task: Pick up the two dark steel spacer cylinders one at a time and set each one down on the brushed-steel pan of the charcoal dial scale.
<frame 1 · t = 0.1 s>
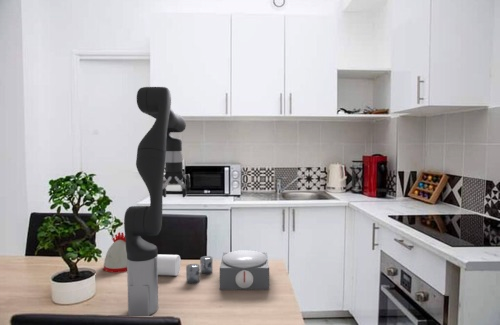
hand: (174, 197, 147), 29 cm above the table, tool pointing down, fingers open, 8 cm apart
scale: (244, 280, 127), on the table
spacer 2: (206, 272, 135), on the table
kitchen timer: (121, 266, 142), on the table
spacer 1: (193, 281, 126), on the table
mug: (167, 273, 135), on the table
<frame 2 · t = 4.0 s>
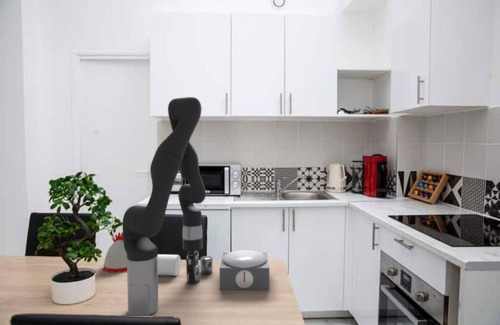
hand: (193, 279, 126), 1 cm above the table, tool pointing down, fingers closed on spacer 1, 5 cm apart
spacer 1: (193, 281, 126), on the table, touching gripper
everything else where it was.
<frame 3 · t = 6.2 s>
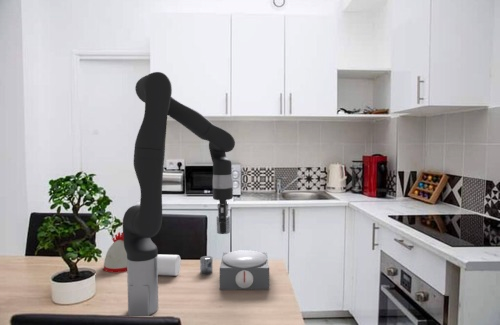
hand: (223, 230, 124), 20 cm above the table, tool pointing down, fingers closed on spacer 1, 5 cm apart
spacer 1: (223, 232, 124), point 19 cm above the table, touching gripper
everything else where it was.
when the fingers open (11 cm above the table, at t = 8.5 s): spacer 1 drops 1 cm, resting on scale.
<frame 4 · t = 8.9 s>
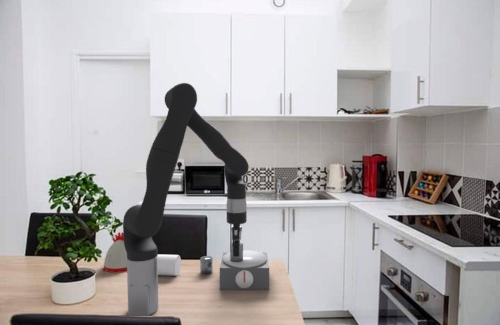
hand: (236, 252, 123), 12 cm above the table, tool pointing down, fingers open, 8 cm apart
spacer 1: (236, 260, 123), point 9 cm above the table, touching scale
everything else where it was.
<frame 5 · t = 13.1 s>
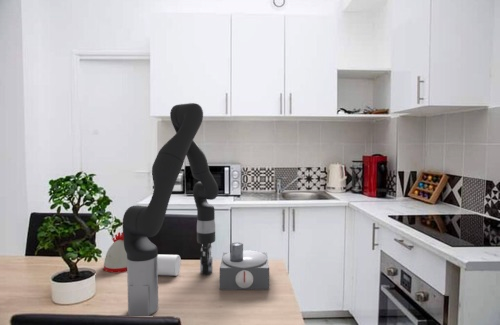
hand: (206, 270, 135), 1 cm above the table, tool pointing down, fingers closed on spacer 2, 5 cm apart
spacer 2: (206, 272, 135), on the table, touching gripper
everything else where it was.
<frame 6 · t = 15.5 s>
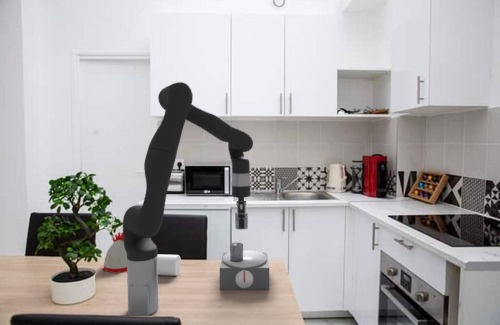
hand: (241, 226, 131), 20 cm above the table, tool pointing down, fingers closed on spacer 2, 5 cm apart
spacer 2: (241, 227, 131), point 19 cm above the table, touching gripper
everything else where it was.
when the fingers open (11 cm above the table, at t = 17.8 s): spacer 2 drops 1 cm, resting on scale.
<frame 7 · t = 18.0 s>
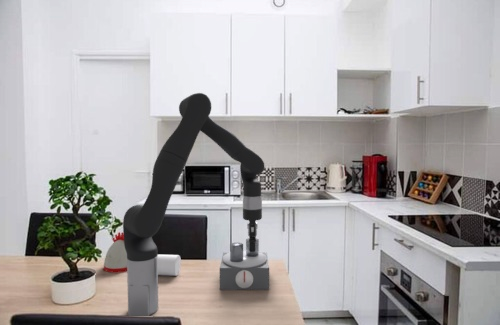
hand: (252, 248, 129), 11 cm above the table, tool pointing down, fingers open, 6 cm apart
spacer 2: (252, 254, 129), point 9 cm above the table, touching scale
everything else where it was.
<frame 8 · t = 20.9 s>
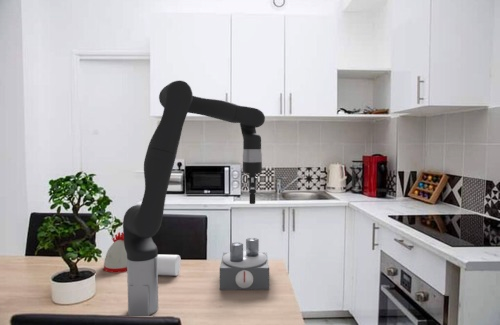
hand: (252, 202, 128), 30 cm above the table, tool pointing down, fingers open, 8 cm apart
nothing on the table moved.
at the end: spacer 1 inside the target area on the scale (4.3 cm from its centre), point 9.0 cm above the scale's base; spacer 2 inside the target area on the scale (4.2 cm from its centre), point 9.0 cm above the scale's base; spacer 2 tilted 0° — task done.
